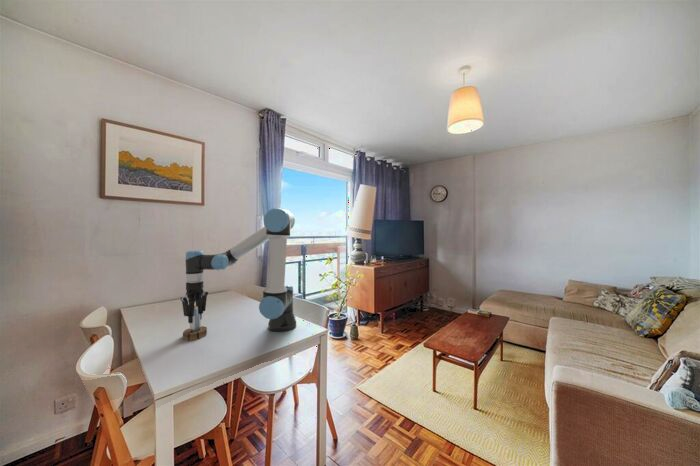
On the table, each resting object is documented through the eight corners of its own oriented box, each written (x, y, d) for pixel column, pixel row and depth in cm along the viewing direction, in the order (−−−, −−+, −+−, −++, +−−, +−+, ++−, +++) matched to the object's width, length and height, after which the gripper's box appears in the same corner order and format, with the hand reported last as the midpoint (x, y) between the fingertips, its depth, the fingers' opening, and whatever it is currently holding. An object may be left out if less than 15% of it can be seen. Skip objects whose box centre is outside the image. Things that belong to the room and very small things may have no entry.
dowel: (199, 335, 126) (199, 305, 126) (194, 337, 123) (194, 306, 123) (195, 334, 127) (195, 304, 127) (190, 336, 124) (190, 306, 124)
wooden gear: (211, 333, 128) (211, 327, 128) (192, 341, 118) (192, 335, 118) (197, 330, 132) (197, 325, 131) (178, 338, 122) (178, 332, 122)
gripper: (203, 278, 133) (203, 321, 133) (174, 283, 119) (174, 332, 119) (213, 279, 130) (214, 323, 131) (184, 285, 116) (185, 334, 116)
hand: (195, 327), depth 125 cm, fingers closed on dowel, 2 cm apart
